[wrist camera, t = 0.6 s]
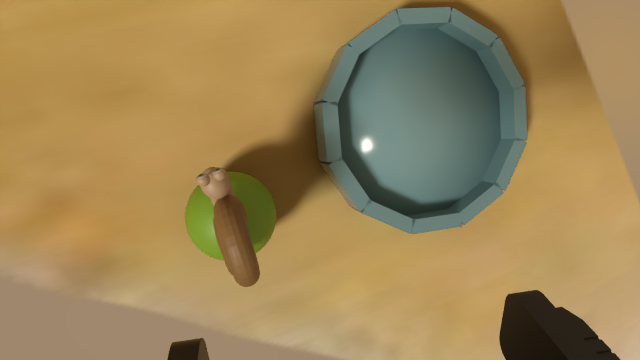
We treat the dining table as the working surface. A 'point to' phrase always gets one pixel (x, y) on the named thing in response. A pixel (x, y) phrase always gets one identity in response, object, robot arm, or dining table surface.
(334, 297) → the dining table surface
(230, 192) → the snail figurine
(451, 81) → the dish
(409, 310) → the dining table surface
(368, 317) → the dining table surface
